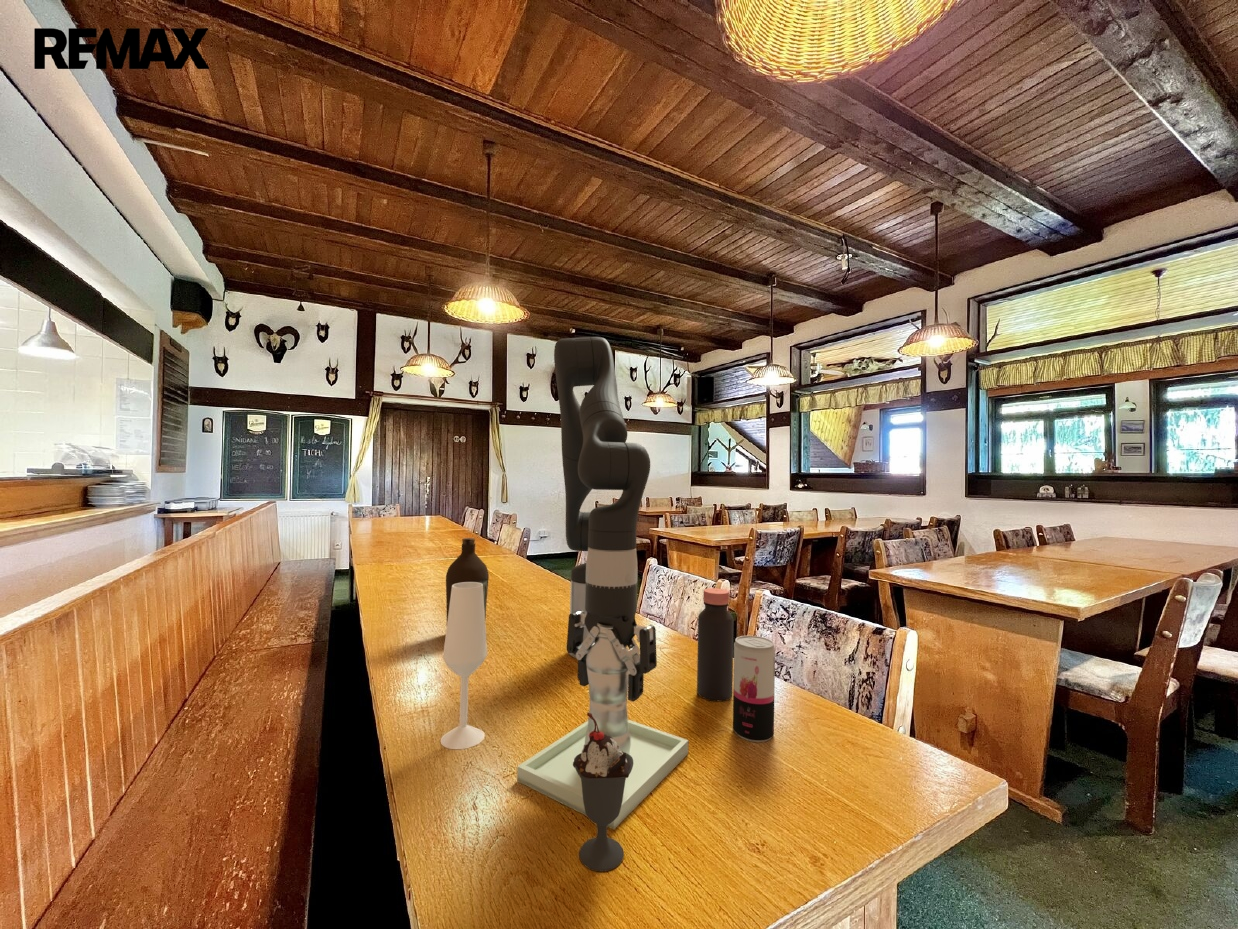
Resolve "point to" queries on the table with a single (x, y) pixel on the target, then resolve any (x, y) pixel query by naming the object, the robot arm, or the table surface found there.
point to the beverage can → (754, 688)
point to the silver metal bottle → (608, 691)
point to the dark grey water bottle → (715, 647)
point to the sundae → (602, 796)
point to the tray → (650, 767)
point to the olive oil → (467, 571)
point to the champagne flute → (465, 653)
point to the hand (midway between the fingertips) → (608, 691)
